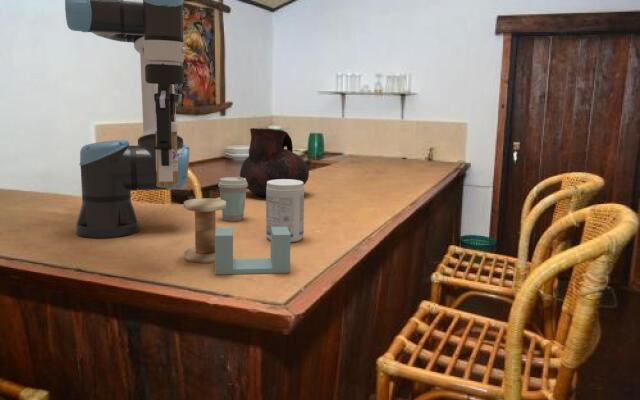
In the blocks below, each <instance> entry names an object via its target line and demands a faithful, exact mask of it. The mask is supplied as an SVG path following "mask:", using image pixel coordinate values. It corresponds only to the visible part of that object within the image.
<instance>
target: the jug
mask: <svg viewBox="0 0 640 400" xmlns="http://www.w3.org/2000/svg"><path fill="white" fill-rule="evenodd" d="M249 132H250V142H249V144H250V145H249V148H248V157H246V158H245V160H244V161H243V163H242V165H241V167H240V171H239V177H241V178H245V179H246V181H247V183H248V186H247V190H248V191H250V192H251V193H253V194H255V195H257V196H259V197H264V198H266V187H267V182H268V181H270V180H277V179H292V180H299V181H302V182H303V183H304V185H306V184H307V182H308V180H309V176H310V171H309V167H308V164H307V163H306V161H305V160H304V159H303V158H302V157H301V156H300V155H298V154H296V152H293V150H294V149H293V140H292V137H290V135H289V133H288V132H287V131H285V130H281V129H275V128H261V127H259V128H255V127H254V128H253V127H251V128H250V130H249ZM285 148H286V149H285Z"/></svg>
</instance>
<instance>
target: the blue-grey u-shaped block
mask: <svg viewBox="0 0 640 400" xmlns="http://www.w3.org/2000/svg"><path fill="white" fill-rule="evenodd" d="M290 241H291V235H290V232H289V230H288V227H271V240H270V257H269V258H234V227H233V226H231V227H230V226H227V227H226V226H223V227H218V226H217V227H216V232H215V262H214V263H215V265H214V270H215V271H214V274H215V275H248V274H249V275H250V274H251V275H252V274H256V275H257V274H286V273H287V274H289V273H291V242H290Z"/></svg>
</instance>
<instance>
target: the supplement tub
mask: <svg viewBox="0 0 640 400" xmlns="http://www.w3.org/2000/svg"><path fill="white" fill-rule="evenodd" d="M304 186H305V184H304V183H303V182H302V181H299V180H292V179H277V180H270V181H268V182H267V187H266V197H265V201H266V202H265V203H266V205H265V207H266V208H265V215H266V217H265V220H266V221H265V223H266V225H265V227H266V229H265V230H266V234H265V235H266V238H267V239H268V240H269V241H271V227H288V230H289V232H290V235H291V241H290V243H295V242H299V241H301V240H302V239H303V238H304V234H305V233H304V232H305V228H304V226H305V224H304V223H305V221H304V220H305V187H304Z"/></svg>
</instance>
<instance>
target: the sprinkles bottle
mask: <svg viewBox="0 0 640 400" xmlns="http://www.w3.org/2000/svg"><path fill="white" fill-rule="evenodd" d="M178 128H179V125H178V122H177V121H176V122H171V146H172V148H171V149H172V152H173V182H159V160H158V150H156V171H157V184H156V185H157V187H160V188H174V187H177V186H178V154H177V134H178V132H179V129H178ZM155 131H156V132H155V133H156V146H157V122H155Z"/></svg>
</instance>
